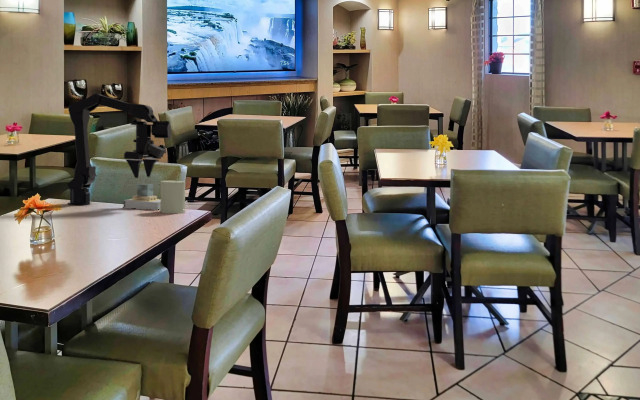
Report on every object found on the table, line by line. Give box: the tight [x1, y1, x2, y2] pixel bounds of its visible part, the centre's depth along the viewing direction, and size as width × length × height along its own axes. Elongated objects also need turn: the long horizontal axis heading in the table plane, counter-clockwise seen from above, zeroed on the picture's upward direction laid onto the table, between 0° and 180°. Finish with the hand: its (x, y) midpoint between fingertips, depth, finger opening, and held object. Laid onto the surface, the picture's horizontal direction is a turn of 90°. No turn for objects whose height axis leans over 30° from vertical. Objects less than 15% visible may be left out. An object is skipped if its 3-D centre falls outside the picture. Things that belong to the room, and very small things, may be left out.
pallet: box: [132, 183, 158, 201], centre depth 232 cm, size 7×6×6 cm
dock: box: [123, 198, 161, 211], centre depth 232 cm, size 14×11×3 cm
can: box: [159, 179, 186, 215], centre depth 222 cm, size 9×9×12 cm
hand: (142, 177), depth 232 cm, fingers open, 9 cm apart
